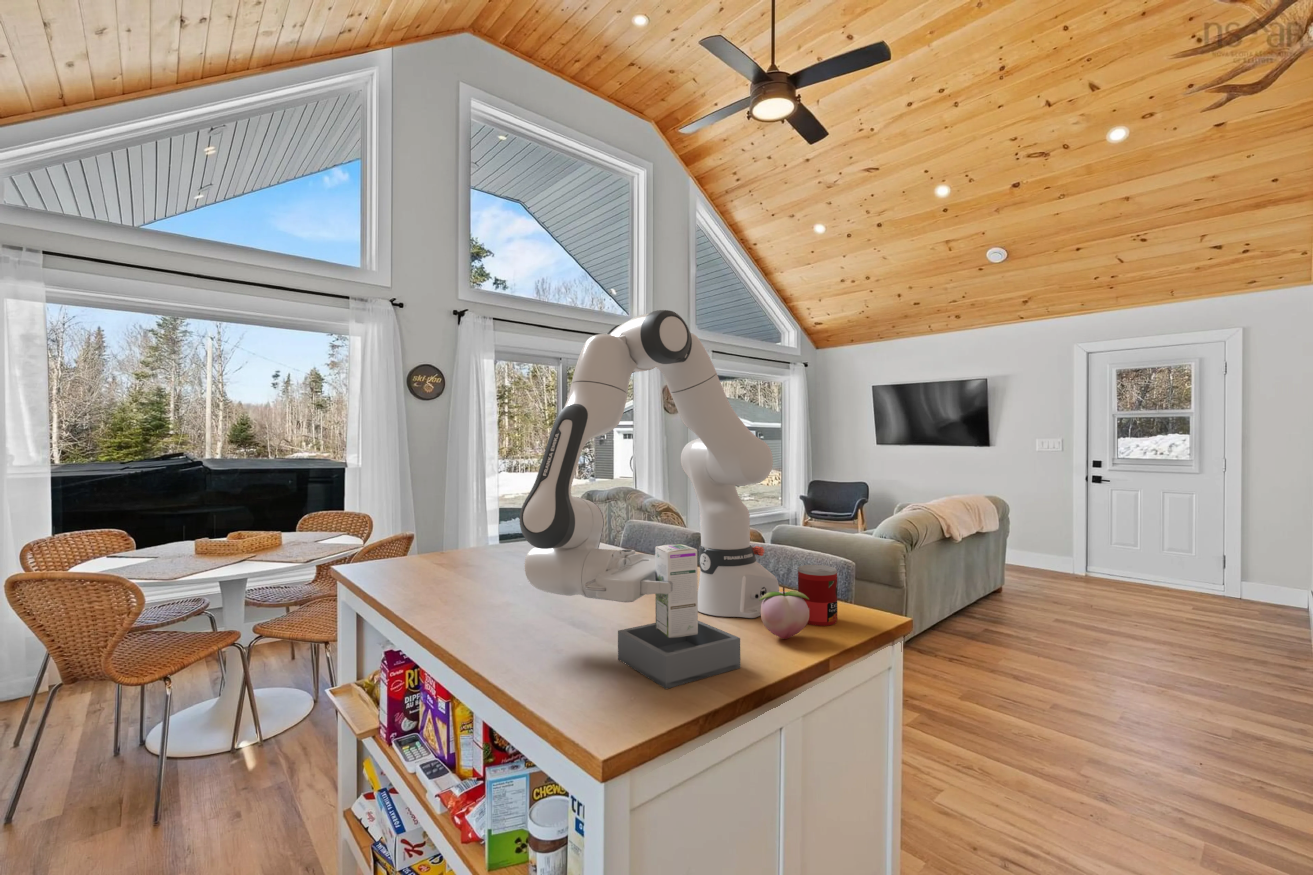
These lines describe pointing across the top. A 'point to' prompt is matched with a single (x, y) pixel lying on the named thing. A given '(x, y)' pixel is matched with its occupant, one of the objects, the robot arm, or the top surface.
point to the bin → (678, 653)
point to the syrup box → (677, 590)
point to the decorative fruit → (784, 612)
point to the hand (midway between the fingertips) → (680, 581)
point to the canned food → (819, 593)
